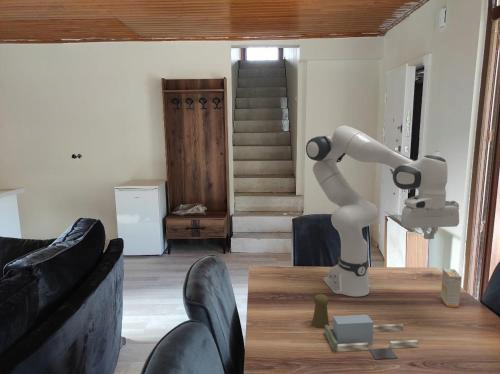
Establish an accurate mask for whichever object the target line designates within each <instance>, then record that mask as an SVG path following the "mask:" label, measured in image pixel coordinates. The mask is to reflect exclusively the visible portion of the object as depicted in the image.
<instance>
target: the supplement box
mask: <svg viewBox="0 0 500 374" xmlns="http://www.w3.org/2000/svg"><path fill="white" fill-rule="evenodd" d="M441 276H442V277H441V289H440V290H441V291H440V299H441V300H442V302H443V304H444V305H445V306H446V307H448V308H459V307H460V302H461V301H460V299H461V289H462V276H461V275H460V273H458V271H457V270H456V269H454V268H442V275H441Z"/></svg>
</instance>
